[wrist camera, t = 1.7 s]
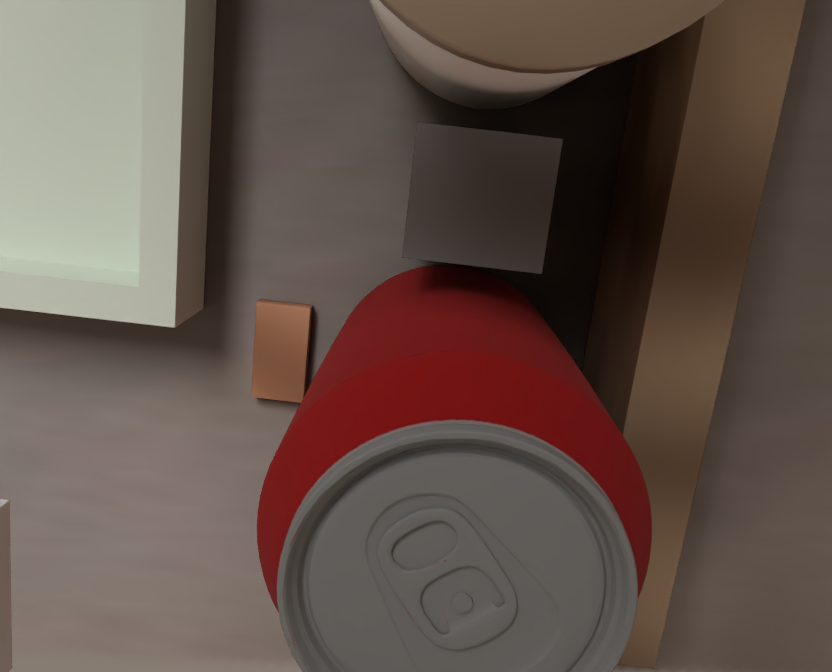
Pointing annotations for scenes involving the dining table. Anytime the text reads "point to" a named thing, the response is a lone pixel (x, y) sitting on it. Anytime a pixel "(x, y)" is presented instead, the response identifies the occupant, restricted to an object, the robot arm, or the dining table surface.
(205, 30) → the tray
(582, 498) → the beverage can
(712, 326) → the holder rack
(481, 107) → the ceramic jar
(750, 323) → the dining table surface
